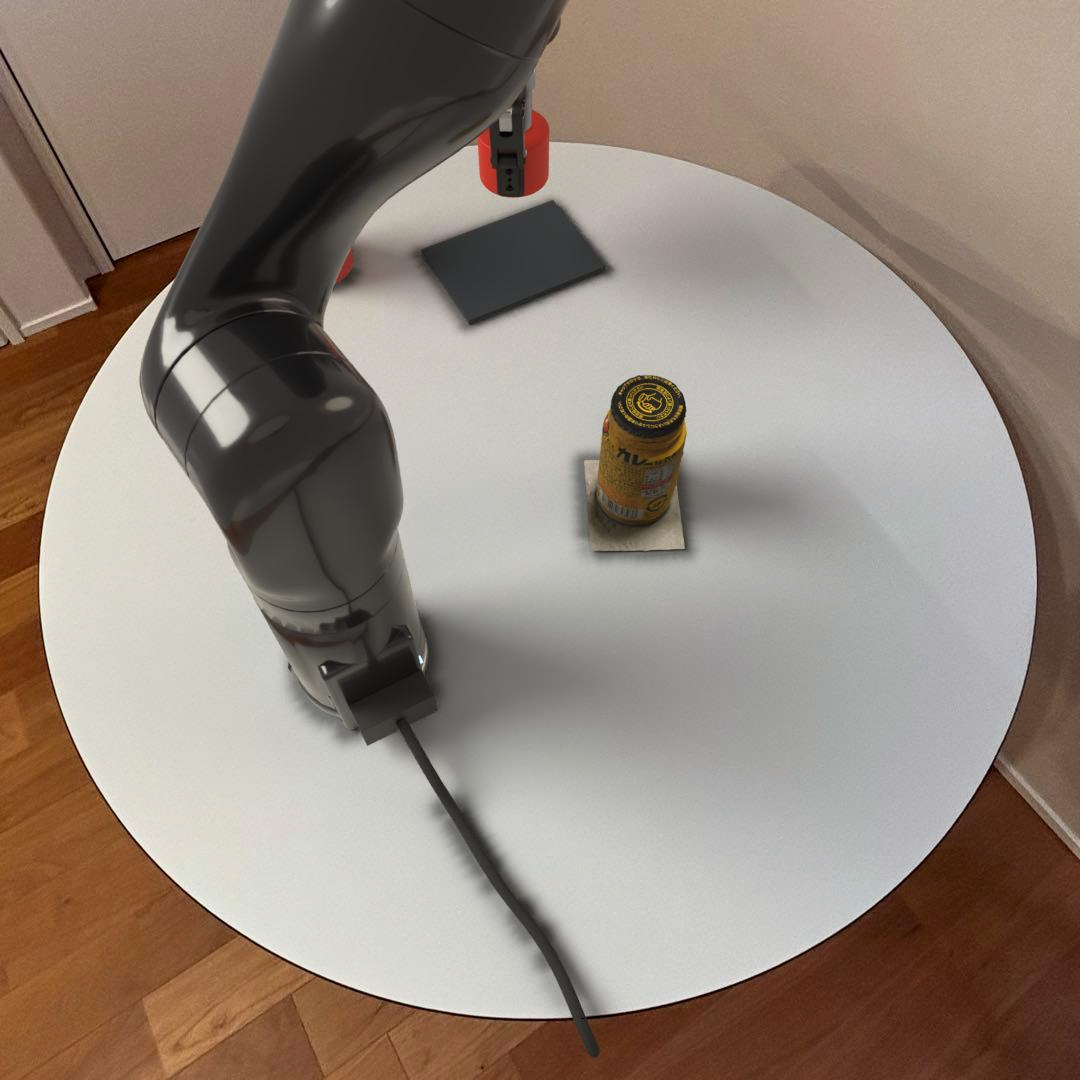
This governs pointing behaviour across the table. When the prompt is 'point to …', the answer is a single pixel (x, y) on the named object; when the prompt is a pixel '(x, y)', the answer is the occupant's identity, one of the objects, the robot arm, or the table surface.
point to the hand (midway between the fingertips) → (512, 166)
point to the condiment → (638, 469)
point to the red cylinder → (535, 159)
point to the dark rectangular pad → (512, 261)
